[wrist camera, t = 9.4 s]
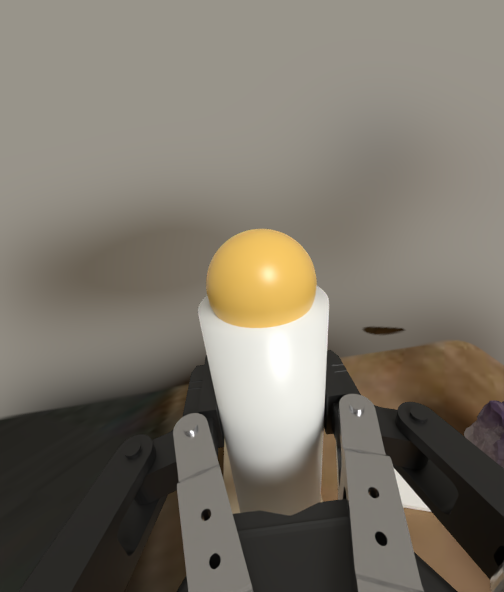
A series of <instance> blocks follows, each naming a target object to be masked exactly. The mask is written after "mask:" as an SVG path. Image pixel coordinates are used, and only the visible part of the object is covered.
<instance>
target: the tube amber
mask: <svg viewBox="0 0 504 592" xmlns="http://www.w3.org/2000/svg"><path fill="white" fill-rule="evenodd" d="M206 290H207V296H205V298H204V299H203V300H202V301H201V303H200V305H199V307H198V315H199V320H200V325H201V330H202V334H203V339H204V343H205V348H206V353H207V358H208V363H209V367H210V372H211V377H212V382H213V386H214V391H215V396H216V400H217V405H218V410H219V415H220V419H221V424H222V429H223V433H224V438H225V443H226V448H227V452H228V457H229V462H230V466H231V471H232V476H233V481H234V485H235V490H236V495H237V499H238V504H239V509H240V513H243V512H251V511H258V510H261V511H266V512H272V513H277V514H283V515H294V514H296V513H298V512H300V511H302V510H304V509H306V508H308V507H310V506H312V505H314V504H317V503H319V502H320V499H321V476H322V454H323V431H324V408H325V386H326V363H327V340H328V317H329V299H328V296H327V295H326V293H325V292H324V291H323V290H322V289H321V288H319V287H318V286H317V283H316V273H315V269H314V266H313V263H312V261H311V259H310V257H309V255H308V254H307V252H306V251H305V250H304V248H303V247H302V246H301V245H300V244H299V243H298V242H297V241H295V240H294V239H293V238H291V237H290V236H288V235H286V234H284V233H281V232H278V231H275V230H270V229H253V230H248V231H244V232H242V233H239V234H237V235H235V236H233V237H232V238H230V239H229V240H228V241H226V242H225V243H224V244H223V245H222V246H221V247H220V248H219V249H218V251H217V252H216V254H215V255H214V257H213V259H212V261H211V263H210V265H209V268H208V272H207V279H206Z"/></svg>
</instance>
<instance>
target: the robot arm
mask: <svg viewBox="0 0 504 592" xmlns="http://www.w3.org/2000/svg"><path fill="white" fill-rule="evenodd" d="M324 429H325V432H326V434H334V436H335V439H336V460H337V479H338V500H334V501H326V502H319V503H317V504H314V505H312V506H310V507H308V508H306V509H304V510H302V511H300V512H298V513H296V514H294V515H283V514H277V513H272V512H266V511H261V510H258V511H251V512H243V513H235V514H232V510H231V506H230V503H229V499H228V495H227V491H226V488H225V484H224V480H223V476H222V473H221V469H220V465H219V462H218V448H220V447H224V433H223V429H222V424H221V419H220V415H219V410H218V405H217V400H216V396H215V391H214V386H213V382H212V377H211V372H210V367H209V363H208V358H207V355H206V359H205V365H200V366H196V368H195V369H194V370H193V372H192V374H191V378H190V383H189V387H188V392H187V397H186V402H185V407H184V412H183V417H182V418H181V419H180V420H179V421H178V422H177V423H176V425H175V427H174V429H173V430H172V431H171V432H169V433H167V434H165V435H163V436H160V437H158V438H156V439H153V440H151V438H150V437H149V436H147V435H143V434H140V435H135V436H133V437H131V438H129V439H127V440H126V441H124V442H123V443H122V444H121V445H120V446H119V448H118V449H117V451H116V452H115V453H114V455H113V456H112V458H111V459H110V461H109V462H108V464H107V465H106V466H105V468H104V469H103V471H102V472H101V474H100V475H99V476H98V478H97V479H96V481H95V482H94V484H93V485H92V487H91V488H90V489H89V491H88V492H87V494H86V495H85V497H84V498H83V500H82V501H81V502H80V504H79V505H78V507H77V508H76V510H75V511H74V513H73V514H72V515H71V517H70V518H69V520H68V521H67V523H66V524H65V525H64V527H63V528H62V530H61V531H60V533H59V534H58V536H57V537H56V538H55V540H54V541H53V543H52V544H51V546H50V547H49V549H48V550H47V551H46V553H45V554H44V556H43V557H42V559H41V560H40V561H39V563H38V564H37V566H36V567H35V569H34V570H33V572H32V573H31V574H30V576H29V577H28V579H27V580H26V582H25V583H24V585H23V586H22V587H21V589H20V590H19V592H124V591H125V589H126V587H127V584H128V582H129V580H130V578H131V576H132V573H133V571H134V569H135V567H136V564H137V562H138V560H139V558H140V555H141V553H142V551H143V549H144V547H145V544H146V542H147V540H148V538H149V535H150V533H151V531H152V529H153V527H154V524H155V522H156V520H157V518H158V515H159V513H160V511H161V509H162V506H163V504H164V502H165V500H166V498H167V495H168V494H169V493H171V492H173V491H175V490H177V493H178V502H179V511H180V520H181V529H182V538H183V547H184V556H185V565H186V574H187V575H186V577H185V579H184V580H183V582H182V584H181V585H180V587H179V589H178V591H177V592H457V591H456V590H455V589H454V588H453V587H452V586H451V585H450V584H449V583H447V582H446V581H445V580H444V579H443V578H442V577H441V576H440V575H439V574H438V573H436V572H435V571H434V570H433V569H432V568H431V567H430V566H429V565H428V564H427V563H426V562H424V561H423V560H422V559H421V558H420V557H419V556H418V555H417V554H416V553H415V552H414V551H413V547H412V543H411V539H410V534H409V530H408V526H407V522H406V518H405V514H404V509H403V505H402V501H401V497H400V493H399V488H398V484H397V480H396V476H395V472H394V469H395V470H396V471H397V472H398V473H399V474H400V476H401V477H402V478H403V479H404V480H405V481H406V483H407V484H408V485H409V486H410V487H411V488H412V489H413V491H414V492H415V493H416V494H417V495H418V496H419V498H420V499H421V500H422V501H423V502H424V503H425V505H426V506H427V507H428V508H429V509H430V510H431V512H432V513H433V514H434V515H435V516H436V517H437V519H438V520H439V521H440V522H441V523H442V524H443V525H444V527H445V528H446V529H447V530H448V531H449V532H450V534H451V535H452V536H453V537H454V538H455V539H456V541H457V542H458V543H459V544H460V545H461V546H462V548H463V549H464V550H465V551H466V552H467V553H468V555H469V556H470V557H471V558H472V559H473V560H474V562H475V563H476V564H477V565H478V566H479V567H480V568H481V570H482V571H483V572H484V573H485V574H486V575H487V577H488V578H489V579H490V580H491V581H490V587H491V592H504V468H503V467H501V466H500V465H499V464H498V463H496V462H495V461H494V460H493V459H491V458H490V457H489V456H488V455H486V454H485V453H484V452H483V451H482V450H480V449H479V448H478V447H477V446H475V445H474V444H473V443H472V442H470V441H469V440H468V439H467V438H465V437H464V436H463V435H462V434H460V433H459V432H458V431H457V430H456V429H454V428H453V427H452V426H451V425H449V424H448V423H447V422H446V421H444V420H443V419H442V418H441V417H439V416H438V415H437V414H436V413H434V412H433V411H432V410H431V409H429V408H428V407H426V406H424V405H422V404H419V403H415V402H405V403H402V404H401V405H400V406H399V407H398V410H394V409H388V408H382V407H378V406H375V405H373V403H372V402H371V401H370V400H369V399H367V398H366V397H364V396H361V394H360V393H359V391H358V389H357V387H356V386H355V384H354V382H353V380H352V379H351V377H350V375H349V373H348V372H347V371H346V368H345V366H344V365H343V363H342V361H341V359H340V358H339V356H338V355H336V354H335V353H334V352H333V351H331V350H328V351H327V363H326V386H325V408H324ZM393 467H394V468H393Z"/></svg>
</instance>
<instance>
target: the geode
mask: <svg viewBox="0 0 504 592" xmlns="http://www.w3.org/2000/svg"><path fill="white" fill-rule="evenodd" d="M464 436H465V438H467V439H468V440H469V441H470V442H472V443H473V444H474V445H475V446H477V447H478V448H479V449H480V450H482V451H483V452H484V453H485V454H486V455H488V456H489V457H490V458H491V459H493V460H494V461H495V462H496V463H498V464H499V465H500V466H501V467H503V468H504V402H502V403H501V402H499V401H489V403H488V404H486V405H485V406H484V407H483V409H482V410H481V412H480V413H479V415H478V416H477V420H476V422H474V423H473V424H472V425H471V426H470V427H468V428H466V430H465V432H464Z"/></svg>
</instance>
